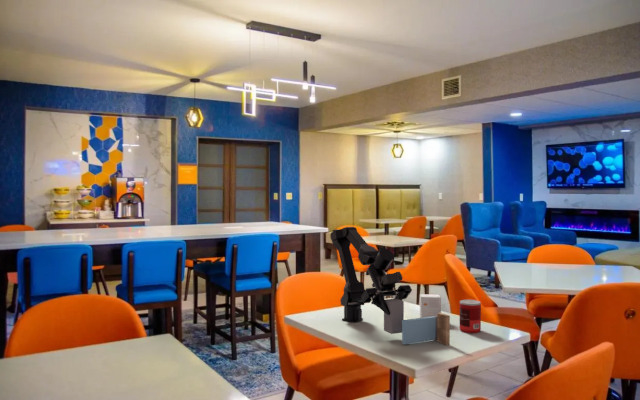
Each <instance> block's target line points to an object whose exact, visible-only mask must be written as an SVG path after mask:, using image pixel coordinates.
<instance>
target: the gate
mask: <svg viewBox="0 0 640 400" xmlns="http://www.w3.org/2000/svg"><path fill="white" fill-rule="evenodd" d="M401 340H402V341H401V344H403V345H408V344H409V345H410V344H415V343H416V344H417V343H422V342H423V343H424V342H428V341H429V342H430V341H436V342H437V316H432V317H424V318H420V317H417V318H411V319H410V318H409V319H408V318H407V319H404V320H402V333H401Z"/></svg>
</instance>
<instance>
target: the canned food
mask: <svg viewBox="0 0 640 400" xmlns="http://www.w3.org/2000/svg"><path fill="white" fill-rule="evenodd" d="M481 303H482V302H481V301H479V300H477V299H462V300H459V330H460V332H463V333H466V334H478V333H480V332H481V329H482V328H481V326H482V325H481V323H482V322H481V321H482V318H481V317H482V305H481Z"/></svg>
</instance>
